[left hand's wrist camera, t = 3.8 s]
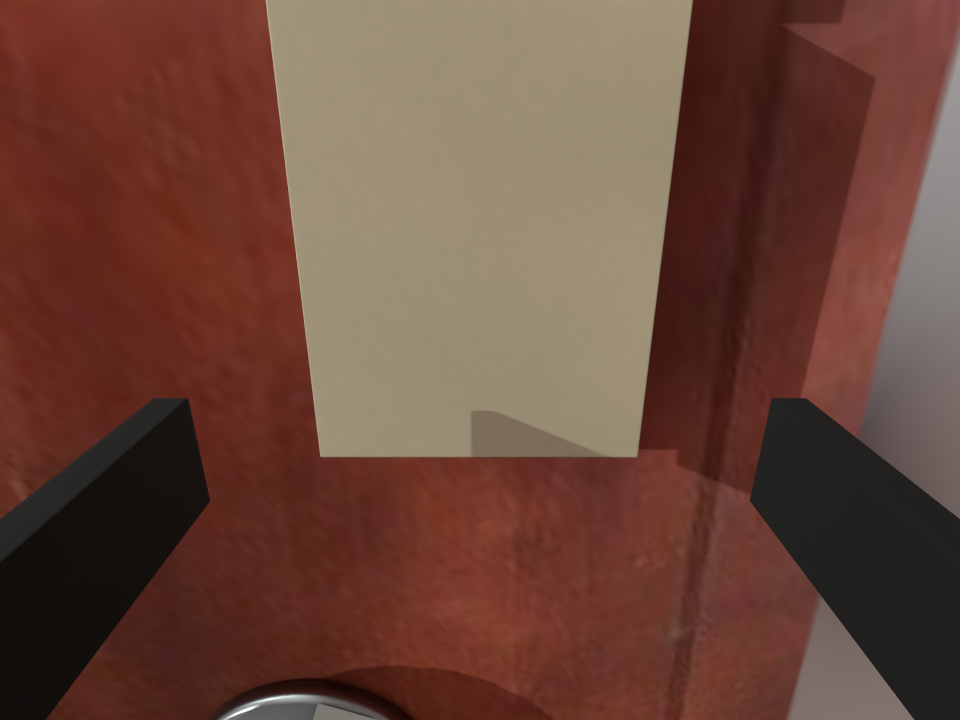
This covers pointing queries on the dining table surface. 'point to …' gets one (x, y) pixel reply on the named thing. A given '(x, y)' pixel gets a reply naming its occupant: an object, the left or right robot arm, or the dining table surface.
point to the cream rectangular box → (479, 217)
